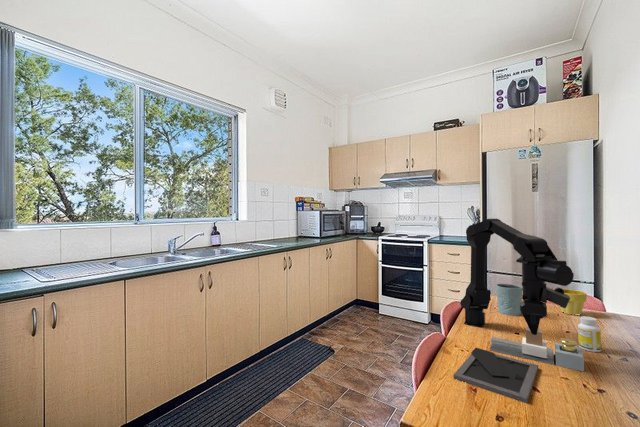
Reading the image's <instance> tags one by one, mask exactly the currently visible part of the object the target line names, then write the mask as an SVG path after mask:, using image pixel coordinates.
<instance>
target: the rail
mask: <svg viewBox="0 0 640 427" xmlns="http://www.w3.org/2000/svg"><path fill="white" fill-rule="evenodd" d="M489 351H490V352H496V353H500V354H504V355H509V356H513V357H518V358H523V359H527V360H530V361H535V362H538V363H539V362H540V363H544V364H549V365H553V366H554V365H555V360H554V357H555V356H554V355H555V354H554V348H550V347H547V358H542V357H538V356H533V355H528V354H524V353H522V341H521V342H520V341H517V340H511V339H504V338H500V337H495V336H492V337H491V339H490V348H489Z"/></svg>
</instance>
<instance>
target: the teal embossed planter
mask: <svg viewBox="0 0 640 427" xmlns="http://www.w3.org/2000/svg"><path fill="white" fill-rule="evenodd" d="M495 288H496V298H497V309H498V312H499V313H500V314H502V315H505V314H506V316H512V317H516V316H518V315H519V316H521V315H522V313H521V311H520V303H521V302H522V301H523V299H522V295H523V290H522V285H518V284H511V283H510V284H509V283H496V284H495Z"/></svg>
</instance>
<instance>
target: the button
mask: <svg viewBox="0 0 640 427" xmlns="http://www.w3.org/2000/svg"><path fill="white" fill-rule="evenodd" d="M559 339H560V341H559V343H560V344H562V351H566V352H571V353H575V346H576V347H577V341H576V340H573V339H571V338H565V337H562V338H559Z"/></svg>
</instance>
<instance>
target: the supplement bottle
mask: <svg viewBox="0 0 640 427" xmlns="http://www.w3.org/2000/svg"><path fill="white" fill-rule="evenodd" d="M579 317H580V322H579V323H578V324H577V336H578V338H577V339H578V347H581V350H585V351H588V352H593V353H601V351H602V336H601V334H602V333H601V331H602V330H601V328H600V326H598V319H596V318H595V317H591V316H583V315H582V316H579Z"/></svg>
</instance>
